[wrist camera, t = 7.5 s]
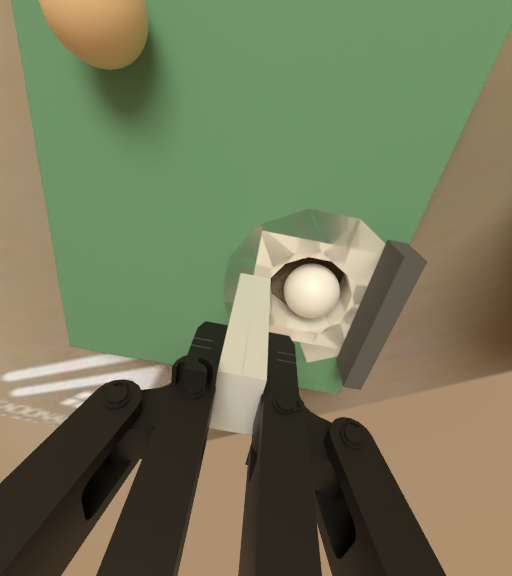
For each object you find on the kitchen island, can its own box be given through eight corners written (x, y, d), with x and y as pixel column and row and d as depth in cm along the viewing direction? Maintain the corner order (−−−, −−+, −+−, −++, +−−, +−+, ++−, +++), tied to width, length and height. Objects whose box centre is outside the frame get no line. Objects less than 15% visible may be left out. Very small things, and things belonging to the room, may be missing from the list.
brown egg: (80, 66, 12) (20, 48, 9) (70, -47, 10) (-6, -110, 7) (160, 83, 12) (125, 71, 9) (162, -26, 10) (120, -80, 8)
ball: (291, 331, 16) (340, 328, 17) (307, 281, 15) (359, 280, 16) (270, 299, 19) (313, 297, 20) (281, 253, 17) (328, 254, 18)
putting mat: (90, 323, 21) (47, 371, 17) (43, -80, 12) (-83, -188, 8) (341, 369, 22) (356, 425, 18) (496, 25, 12) (605, -23, 8)
